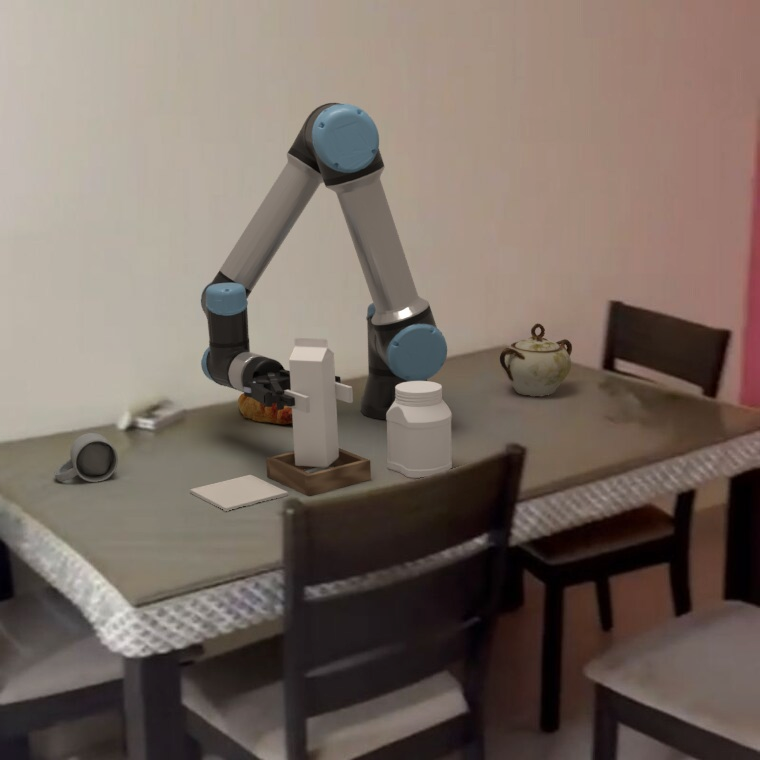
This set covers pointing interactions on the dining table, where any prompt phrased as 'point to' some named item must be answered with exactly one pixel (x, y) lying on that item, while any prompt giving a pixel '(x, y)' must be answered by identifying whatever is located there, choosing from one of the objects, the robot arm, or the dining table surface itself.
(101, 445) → the ceramic mug
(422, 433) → the jar
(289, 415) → the croissant
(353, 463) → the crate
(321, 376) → the milk
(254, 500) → the tile
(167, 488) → the dining table surface
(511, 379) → the sugar bowl
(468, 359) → the dining table surface
